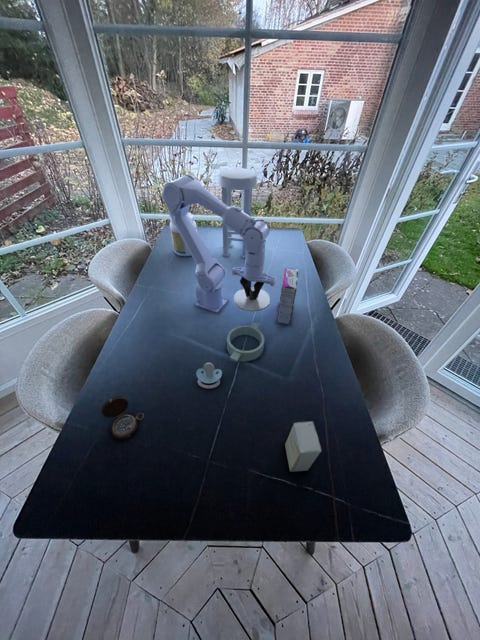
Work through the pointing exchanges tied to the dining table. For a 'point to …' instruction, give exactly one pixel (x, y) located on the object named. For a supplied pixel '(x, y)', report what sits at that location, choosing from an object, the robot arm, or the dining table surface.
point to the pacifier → (208, 376)
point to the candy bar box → (287, 295)
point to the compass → (120, 417)
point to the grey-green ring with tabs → (245, 330)
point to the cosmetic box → (302, 446)
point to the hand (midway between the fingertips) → (252, 296)
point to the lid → (251, 300)
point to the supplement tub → (179, 239)
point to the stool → (229, 181)
